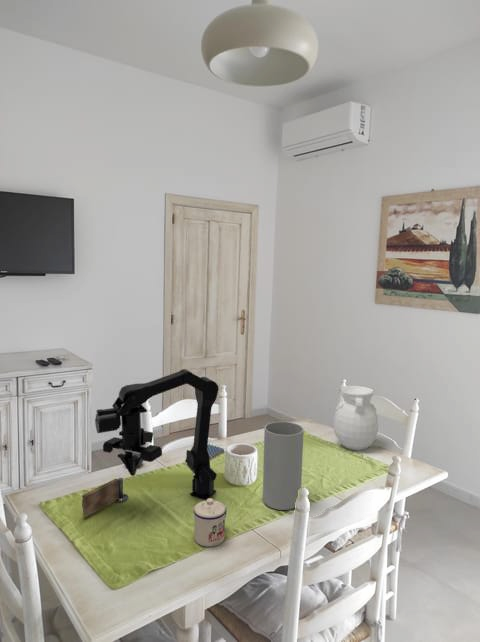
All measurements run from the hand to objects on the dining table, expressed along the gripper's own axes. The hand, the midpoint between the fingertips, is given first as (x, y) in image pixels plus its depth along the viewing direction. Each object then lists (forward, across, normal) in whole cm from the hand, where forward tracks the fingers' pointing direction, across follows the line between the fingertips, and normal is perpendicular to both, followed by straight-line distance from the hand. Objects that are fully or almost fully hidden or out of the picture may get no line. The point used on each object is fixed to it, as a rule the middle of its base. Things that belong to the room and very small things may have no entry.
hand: (133, 475), depth 150 cm
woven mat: (+13, +2, -49) cm, 51 cm away
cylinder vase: (+13, -39, -27) cm, 49 cm away
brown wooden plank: (+10, +9, +5) cm, 15 cm away
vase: (+12, +20, -25) cm, 34 cm away
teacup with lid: (+12, -29, +1) cm, 31 cm away
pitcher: (+14, -50, -86) cm, 100 cm away
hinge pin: (+11, +8, -3) cm, 14 cm away
